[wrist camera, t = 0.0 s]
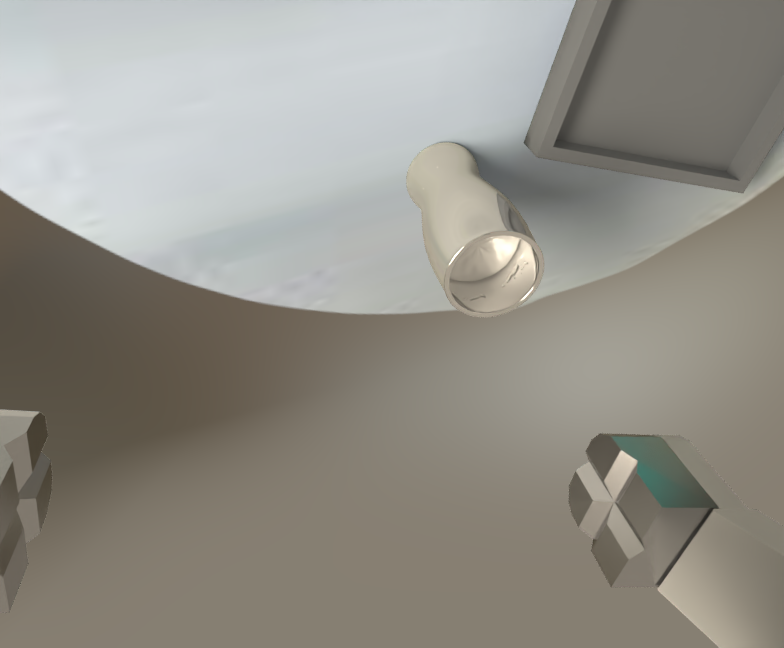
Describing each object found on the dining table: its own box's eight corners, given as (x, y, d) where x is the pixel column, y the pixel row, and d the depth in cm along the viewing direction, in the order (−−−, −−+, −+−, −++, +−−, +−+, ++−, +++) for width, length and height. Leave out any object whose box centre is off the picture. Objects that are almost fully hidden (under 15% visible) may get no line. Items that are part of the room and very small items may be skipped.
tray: (623, -128, 38) (646, -127, 35) (857, -50, 43) (891, -45, 41) (523, 142, 48) (536, 157, 46) (722, 178, 53) (743, 193, 51)
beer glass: (495, 147, 48) (566, 239, 36) (464, 221, 52) (520, 326, 40) (415, 126, 46) (465, 218, 34) (389, 206, 50) (425, 312, 38)
